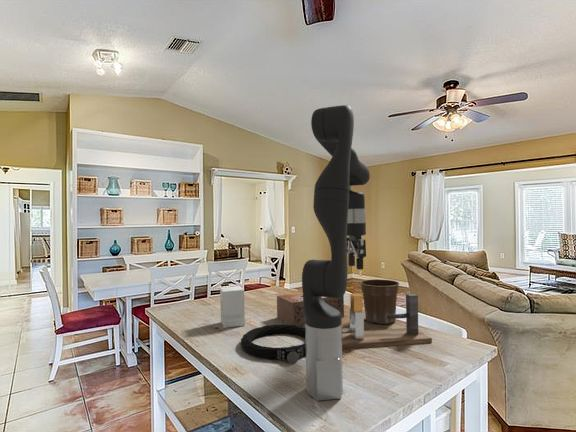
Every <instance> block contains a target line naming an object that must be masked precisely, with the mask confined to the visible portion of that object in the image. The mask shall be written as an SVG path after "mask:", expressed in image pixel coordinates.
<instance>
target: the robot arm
mask: <svg viewBox="0 0 576 432" xmlns="http://www.w3.org/2000/svg"><path fill="white" fill-rule="evenodd" d="M354 119H355V117H354V112H353V109H352V108H351V106H350V105H347V104H346V105H344V104H343V105H333V106H328V107H327V106H326V107H325V106H324V107H321V108H317V109H315V110H314V111H313V113H312V115H311V120H310V122H311V124H310V125H311V126H310V127H311V131H312V134H313V136H314V138H315V140H316V141H317V142H318V143H319V144H320V146H322V148H323V149H325V150H326V152H327V153H328V154H329V155H330V156H331V158H330V160H329V162H328V163H327V164H326V166H325V167H324V169H323V170H322V172H321V173H320V175H319V176H318V178H317V179H316V182H315V184H314V189H313V190H314V191H313V203H312V204H313V205H312V206H313V212H314V216H315V217H316V219H317V221H318V222H319V224H320V226H321V228H322V229H323V231H324V233H325V235H326V237H327V240H328V243H329V248H330V253H331V254H330V255H331V259H309V260H307V261H306V262H305V263H304V265H303V267H302V272H301V289H302V292H303V306H304V315H305V324H304V325H305V326H304V327H305V333H306V335H305V337H306V338H305V337H304V338H305V343H306V355H305V377H306V378H305V380H306V381H305V382H306V384H305V385H306V388H305V389H306V393H307V394H308V395H309V396H310V397H312V398H314V399H315V401H328V400H338V399H342V395H343V393H344V391H343V390H344V388H343V386H344V385H343V383H344V382H343V381H344V380H343V379H344V377H343V349H342V329H343V328H342V327H343V325H342V324H343V321H342V318H343V317H341V313H340V312H339V311H338V310H337V309H335V308H333V307H331V306H329V305H328V304H327V303H326V302H324V300H323V299H322V297H330V298H341V297H343V296H344V295H345V294H346V291H347V287H348V266H349V267H355V266H356V269H357V270H364V258H366V257H367V248H366V238H365V239H364V238H362V236H365V235H366V234H367V222H366V221H367V218H366V217H367V216H366V210H365V209H366V204H365V203H366V201H365V194H364V193H363V192H360V191H354V190H352V188H351V186H365V185H366V184H367V183H368V182H369V181H370V177H371V175H370V170H369V168H368V167H367V165H366V164H365V163H364V162H363V161H361V159H359V157H358V153H357V152H356V150H355V149H354V148H353V145H352V144H353V137H354V129H355V128H354V126H355V120H354ZM344 297H345V296H344Z"/></svg>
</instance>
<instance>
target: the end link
mask: <svg viewBox="0 0 576 432" xmlns="http://www.w3.org/2000/svg"><path fill="white" fill-rule="evenodd" d="M349 294H350V295H349V296H350V297H349V298H350V307H349V327H347V328H346V327H345V328H342V333H350V334H351V335H352V336H353V337H354V338H355V339H364V331H365V320H364V316H365V311H363V294H360V293H359V292H358V293H349Z"/></svg>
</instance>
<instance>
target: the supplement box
mask: <svg viewBox="0 0 576 432" xmlns="http://www.w3.org/2000/svg"><path fill="white" fill-rule="evenodd" d="M219 295H220V297H219V298H220V323H221V325H222V328H223V329H228V328H236V327H244V326H246V318H245V317H246V315H245V314H246V312H245V289H244V288H243V287H242V286H240V285H238V286H237V285H236V286H227V287H225V286H224V287H223V286H222V287H220V291H219Z"/></svg>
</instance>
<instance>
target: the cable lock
mask: <svg viewBox="0 0 576 432" xmlns="http://www.w3.org/2000/svg"><path fill="white" fill-rule="evenodd" d="M283 334H284V335H285V334H287V335H293V336H294V335H295V336H299V337H302V338H305V339H306V337H305V335H306V333H305V326H304V325H299V326H296V325H289V324H285V323H284V324H280V323H279V324H267V325H264V326H260V327H256V328H253V329H250V330H249V331H247V332H246V333H244V334H243V335H242V338H241V339H240V346H241V349H243V350H244V352H246V353H247V354H249V355H251V356H253V357H255V358H256V357H257V358H261V359H266V360H277V361H280V362H281V361H285V360H286V363H289V364H295V363H297V362H298V361H299V359H301V358H303V357H304V356H306V342H304V343H302V344H298V345H293V346H289V347H287V346H285V347H282V346H281V347H271V346H264V345H259V344H255V343H254V342H253V341H255V340H256V339H258V338H261V337H264V336H270V335H283Z"/></svg>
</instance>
